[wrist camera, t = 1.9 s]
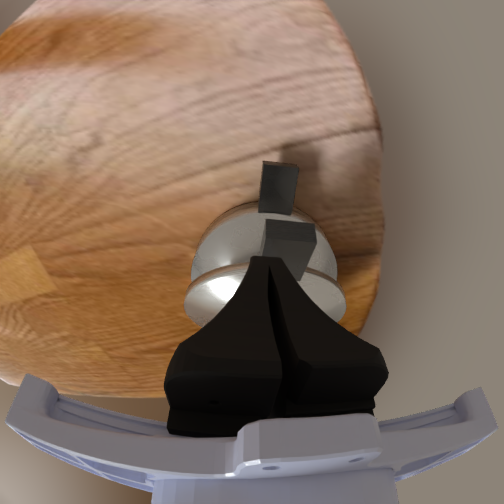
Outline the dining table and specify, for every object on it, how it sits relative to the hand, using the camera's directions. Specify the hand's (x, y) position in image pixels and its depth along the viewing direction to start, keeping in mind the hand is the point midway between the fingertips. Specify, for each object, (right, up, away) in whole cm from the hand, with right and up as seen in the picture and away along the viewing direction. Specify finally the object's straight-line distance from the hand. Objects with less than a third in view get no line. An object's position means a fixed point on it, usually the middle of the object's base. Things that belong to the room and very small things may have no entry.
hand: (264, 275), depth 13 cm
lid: (+1, -2, +7) cm, 7 cm away
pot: (0, 0, +12) cm, 12 cm away
